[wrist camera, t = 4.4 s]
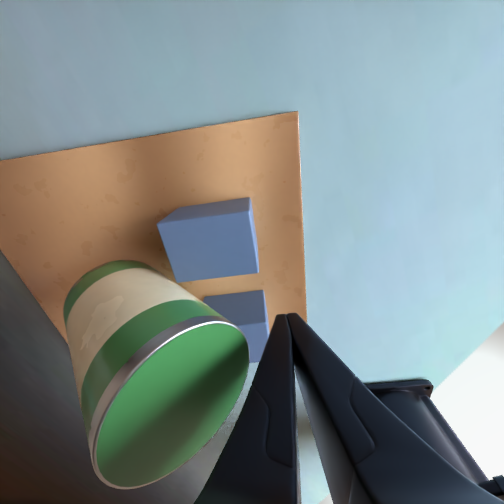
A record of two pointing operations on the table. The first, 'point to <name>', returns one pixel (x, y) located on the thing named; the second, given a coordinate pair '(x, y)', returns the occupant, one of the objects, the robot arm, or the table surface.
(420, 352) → the table surface
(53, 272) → the cork mat
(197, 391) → the green tin
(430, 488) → the robot arm
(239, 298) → the blue blocks
